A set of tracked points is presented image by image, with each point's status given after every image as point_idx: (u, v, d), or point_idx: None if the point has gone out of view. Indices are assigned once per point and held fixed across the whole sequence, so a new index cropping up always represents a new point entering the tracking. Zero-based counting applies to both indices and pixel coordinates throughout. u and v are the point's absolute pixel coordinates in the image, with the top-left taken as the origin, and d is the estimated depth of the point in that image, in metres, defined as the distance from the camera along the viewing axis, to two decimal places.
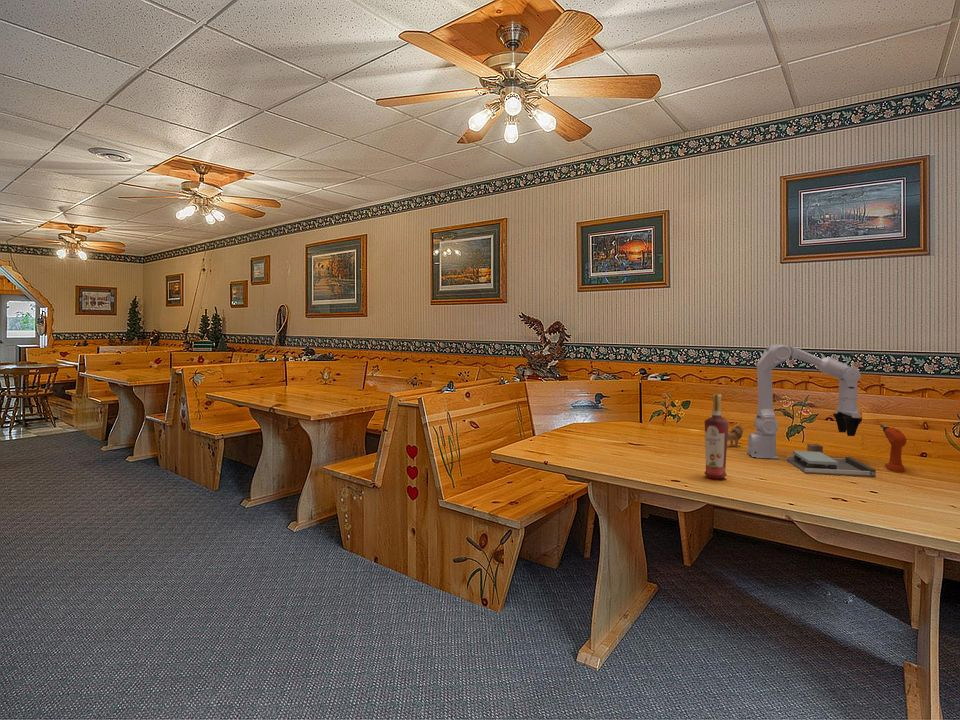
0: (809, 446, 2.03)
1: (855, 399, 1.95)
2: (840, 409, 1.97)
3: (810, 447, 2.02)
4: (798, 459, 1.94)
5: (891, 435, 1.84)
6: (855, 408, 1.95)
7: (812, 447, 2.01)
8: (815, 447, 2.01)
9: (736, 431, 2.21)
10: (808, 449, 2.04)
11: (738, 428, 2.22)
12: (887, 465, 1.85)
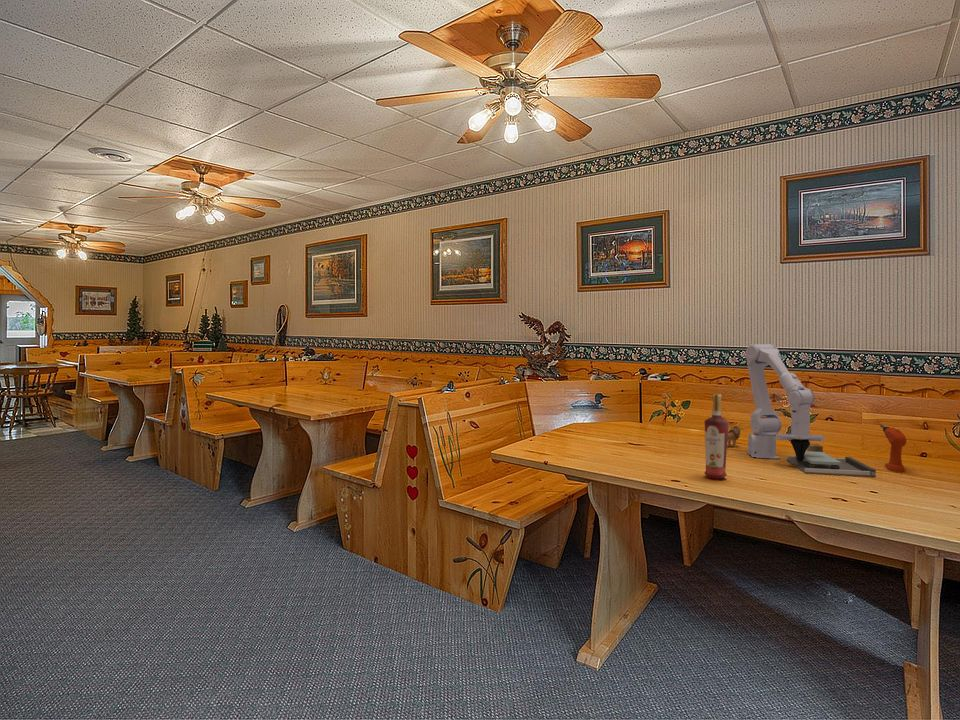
0: (809, 446, 2.03)
1: (795, 423, 1.87)
2: None
3: (810, 447, 2.02)
4: None
5: (891, 435, 1.84)
6: (795, 433, 1.87)
7: (812, 447, 2.01)
8: (815, 447, 2.01)
9: (734, 431, 2.21)
10: (808, 449, 2.04)
11: (736, 428, 2.22)
12: (887, 465, 1.85)
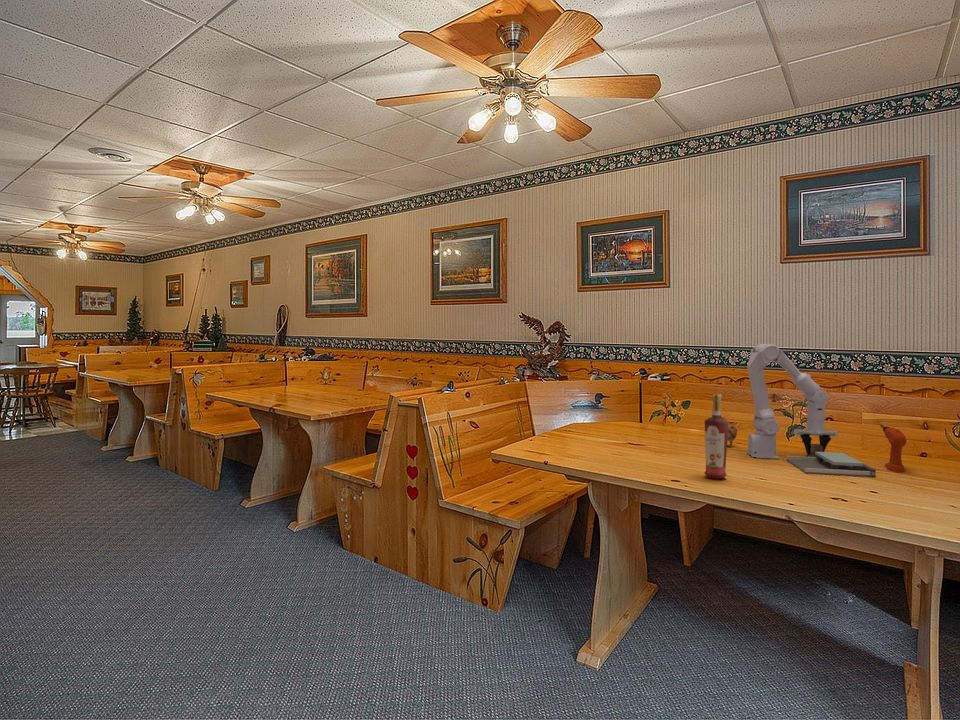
0: None
1: (810, 420, 2.01)
2: None
3: (810, 447, 2.02)
4: (821, 460, 1.92)
5: (891, 435, 1.84)
6: (811, 428, 2.01)
7: (812, 447, 2.01)
8: (815, 447, 2.01)
9: (731, 431, 2.21)
10: None
11: (732, 428, 2.21)
12: (887, 465, 1.85)
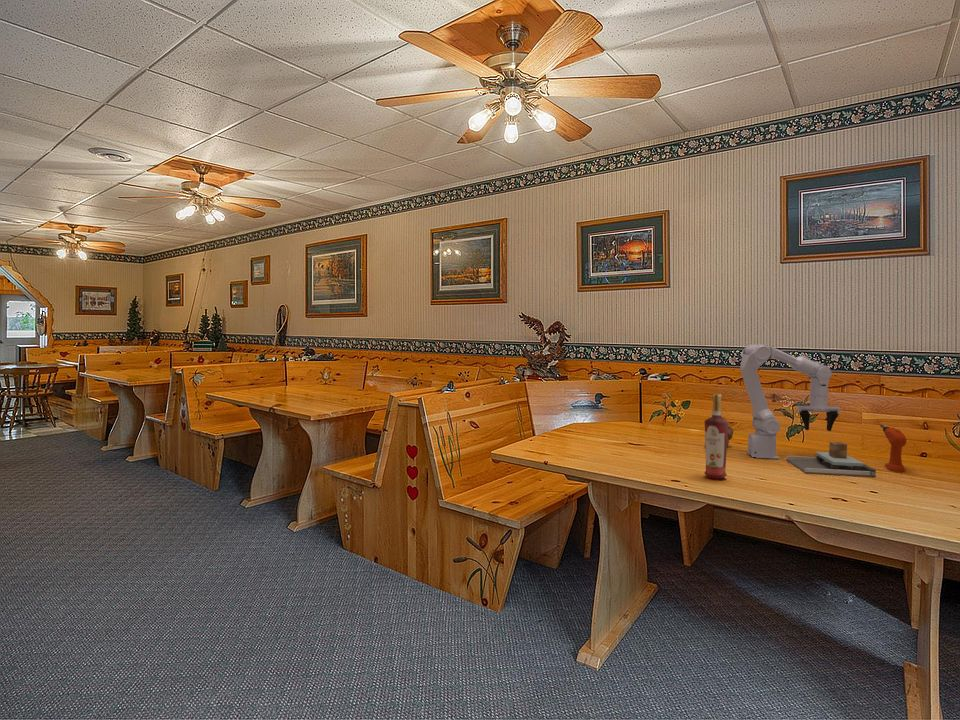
0: (832, 444, 1.86)
1: (813, 396, 2.02)
2: None
3: (833, 445, 1.85)
4: (821, 460, 1.92)
5: (891, 435, 1.84)
6: (814, 405, 2.02)
7: (835, 445, 1.84)
8: (838, 445, 1.84)
9: None
10: (830, 447, 1.87)
11: (729, 428, 2.21)
12: (887, 465, 1.85)
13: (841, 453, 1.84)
